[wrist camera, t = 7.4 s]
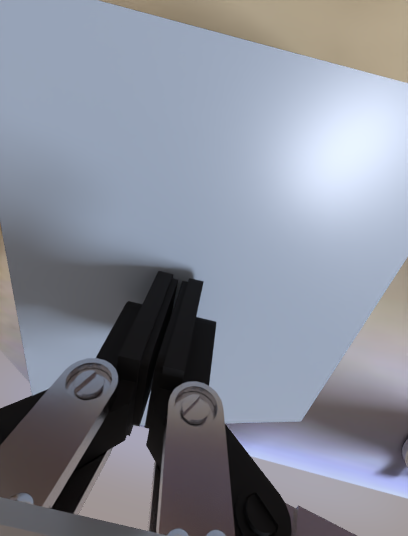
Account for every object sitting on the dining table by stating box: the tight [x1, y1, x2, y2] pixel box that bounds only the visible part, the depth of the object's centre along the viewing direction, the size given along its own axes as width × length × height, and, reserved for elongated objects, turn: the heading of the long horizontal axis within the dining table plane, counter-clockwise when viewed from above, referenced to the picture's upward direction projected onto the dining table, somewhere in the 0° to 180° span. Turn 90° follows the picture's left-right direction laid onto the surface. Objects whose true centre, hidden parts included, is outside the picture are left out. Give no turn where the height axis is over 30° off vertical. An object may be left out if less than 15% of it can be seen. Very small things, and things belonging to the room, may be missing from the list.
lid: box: [0, 0, 408, 426], centre depth 12 cm, size 16×14×1 cm
